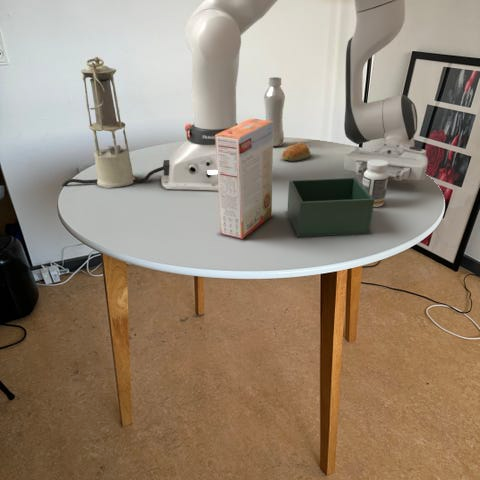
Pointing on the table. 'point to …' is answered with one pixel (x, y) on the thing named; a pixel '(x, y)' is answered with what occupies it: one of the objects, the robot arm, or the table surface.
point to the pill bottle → (376, 180)
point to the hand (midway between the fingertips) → (378, 174)
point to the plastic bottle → (275, 109)
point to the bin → (329, 207)
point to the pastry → (296, 152)
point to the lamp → (107, 127)
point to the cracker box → (244, 176)
